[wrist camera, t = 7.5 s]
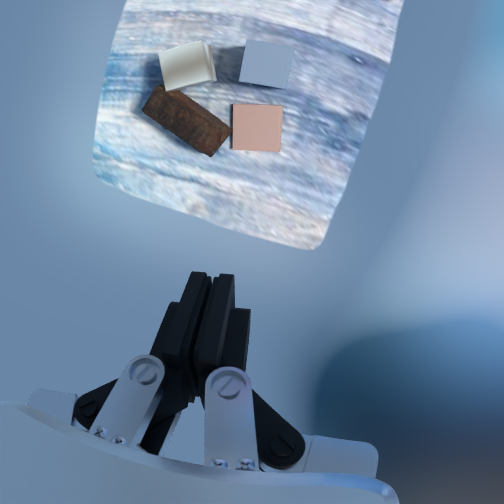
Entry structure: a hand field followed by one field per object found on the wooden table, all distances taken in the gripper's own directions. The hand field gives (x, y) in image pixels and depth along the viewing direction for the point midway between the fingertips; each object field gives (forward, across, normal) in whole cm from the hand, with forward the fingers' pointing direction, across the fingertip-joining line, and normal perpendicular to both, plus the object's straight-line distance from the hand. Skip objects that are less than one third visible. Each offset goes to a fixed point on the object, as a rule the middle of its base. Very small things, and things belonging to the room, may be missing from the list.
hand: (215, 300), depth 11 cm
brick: (+28, +8, -4) cm, 29 cm away
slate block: (+27, -1, -11) cm, 29 cm away
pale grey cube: (+27, +8, -11) cm, 30 cm away
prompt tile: (+27, 0, -3) cm, 27 cm away
